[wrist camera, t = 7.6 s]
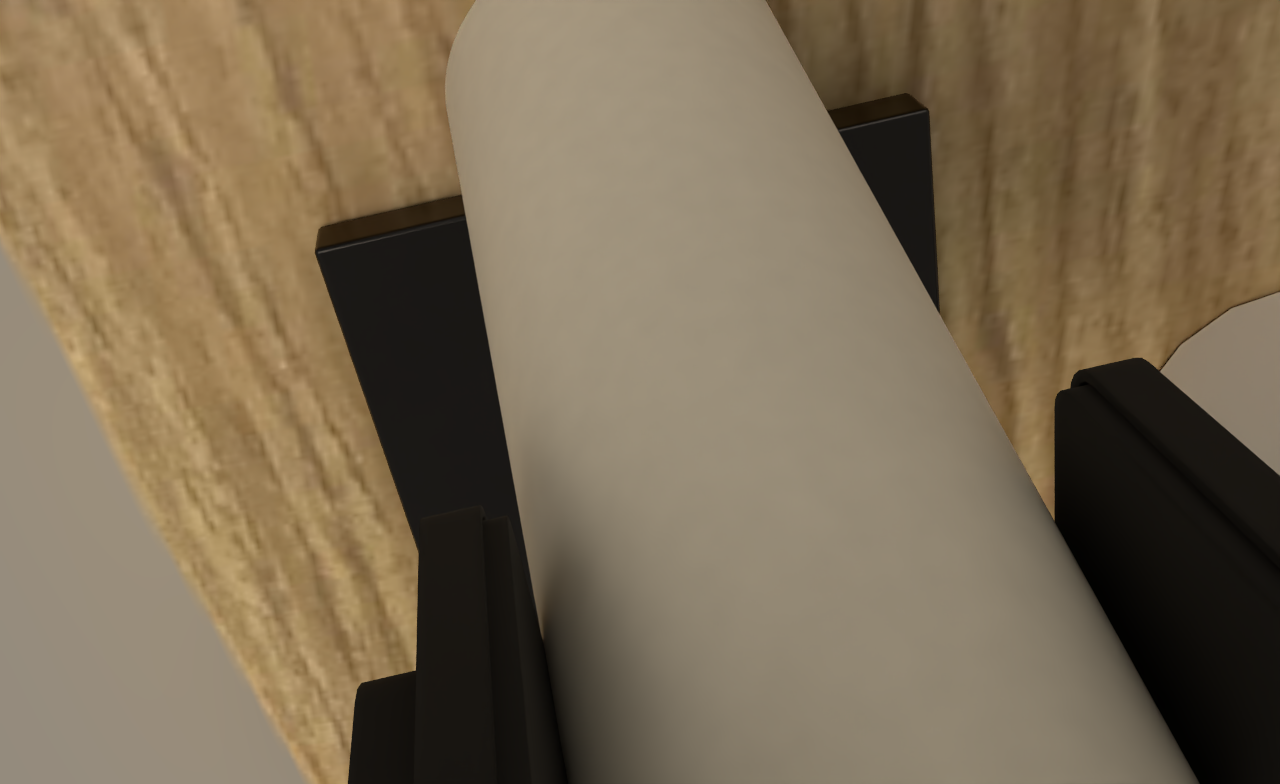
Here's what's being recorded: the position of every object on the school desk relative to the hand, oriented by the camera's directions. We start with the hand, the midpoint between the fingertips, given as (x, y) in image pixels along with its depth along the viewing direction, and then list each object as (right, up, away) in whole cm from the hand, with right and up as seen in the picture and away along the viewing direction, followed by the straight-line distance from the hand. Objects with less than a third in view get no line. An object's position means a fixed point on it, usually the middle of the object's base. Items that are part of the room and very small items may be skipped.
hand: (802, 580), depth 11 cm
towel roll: (0, 0, +4) cm, 4 cm away
